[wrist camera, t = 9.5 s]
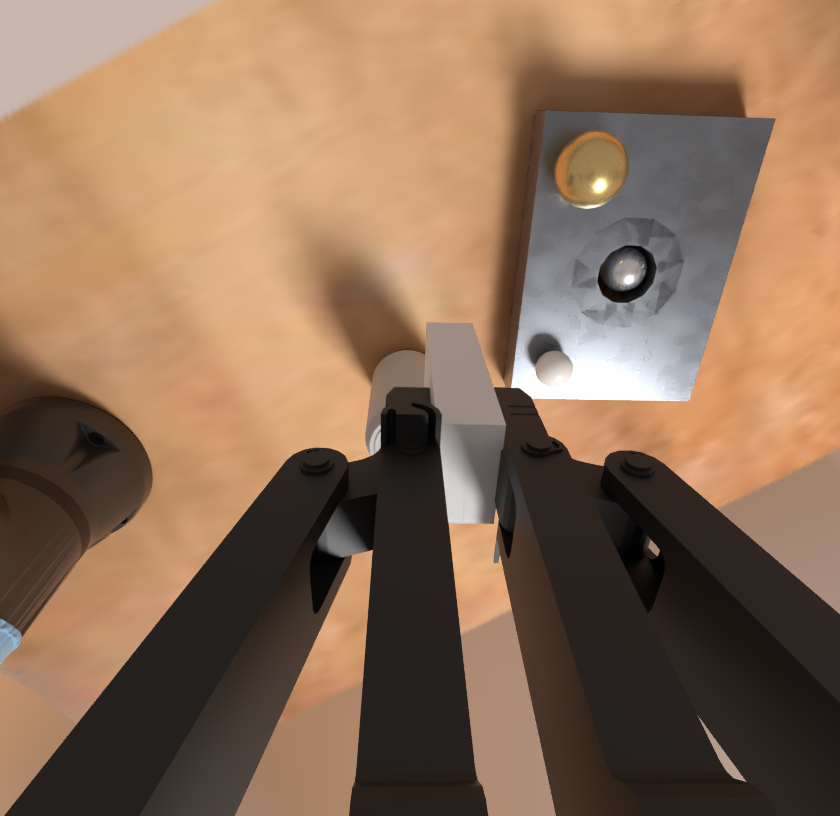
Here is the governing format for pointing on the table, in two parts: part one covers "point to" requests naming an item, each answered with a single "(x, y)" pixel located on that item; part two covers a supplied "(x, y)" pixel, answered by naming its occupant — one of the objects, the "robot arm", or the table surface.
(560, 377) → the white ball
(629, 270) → the steel ball
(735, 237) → the plate
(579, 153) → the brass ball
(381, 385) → the beverage can
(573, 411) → the table surface
